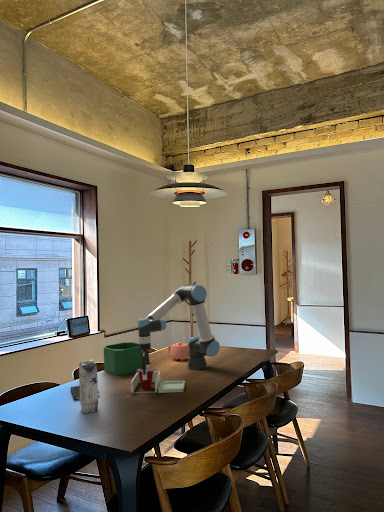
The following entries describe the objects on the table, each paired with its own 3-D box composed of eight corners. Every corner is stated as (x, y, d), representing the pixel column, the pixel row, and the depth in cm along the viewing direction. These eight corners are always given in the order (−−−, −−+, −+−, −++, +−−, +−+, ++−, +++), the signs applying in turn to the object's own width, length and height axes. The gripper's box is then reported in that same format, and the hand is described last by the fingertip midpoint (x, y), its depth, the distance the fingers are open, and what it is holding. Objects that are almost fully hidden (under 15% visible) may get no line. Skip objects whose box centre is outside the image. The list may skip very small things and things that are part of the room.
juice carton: (82, 414, 210) (80, 363, 211) (79, 408, 220) (78, 359, 221) (99, 411, 214) (97, 361, 214) (95, 405, 223) (94, 357, 224)
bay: (137, 382, 266) (137, 372, 266) (160, 381, 265) (160, 371, 266) (131, 393, 243) (130, 382, 243) (156, 392, 242) (156, 381, 243)
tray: (161, 384, 259) (160, 381, 260) (184, 383, 259) (184, 380, 259) (158, 392, 242) (157, 389, 242) (183, 391, 241) (183, 388, 242)
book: (70, 391, 254) (70, 387, 254) (94, 388, 260) (93, 383, 260) (74, 401, 234) (74, 396, 234) (99, 397, 240) (99, 392, 240)
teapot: (196, 358, 331) (195, 341, 331) (191, 361, 319) (190, 344, 319) (171, 357, 338) (170, 340, 338) (165, 361, 326) (165, 343, 326)
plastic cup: (158, 386, 256) (157, 367, 257) (149, 390, 247) (148, 371, 247) (144, 384, 261) (143, 366, 262) (134, 389, 252) (133, 370, 252)
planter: (118, 376, 285) (117, 350, 286) (101, 370, 305) (100, 346, 305) (148, 368, 302) (147, 345, 303) (129, 363, 322) (129, 341, 322)
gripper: (141, 339, 267) (143, 372, 266) (135, 346, 243) (137, 382, 242) (152, 339, 266) (154, 372, 266) (148, 346, 243) (149, 382, 242)
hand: (146, 377), depth 254 cm, fingers open, 11 cm apart
